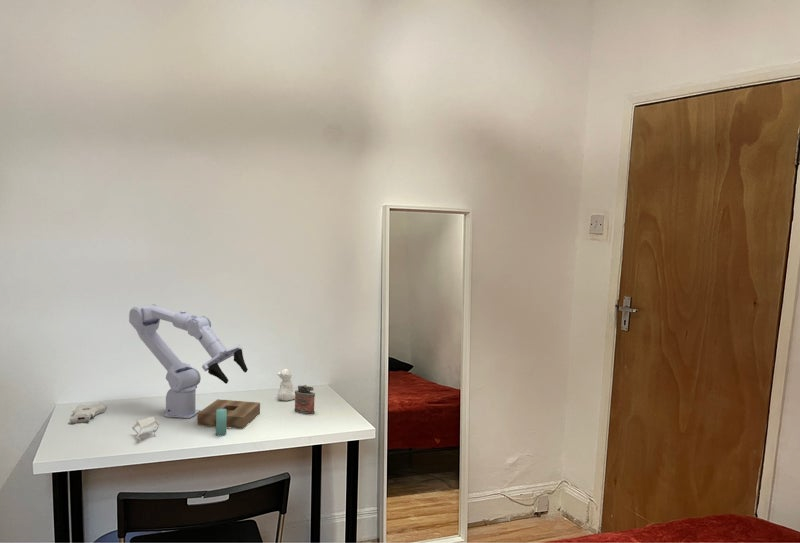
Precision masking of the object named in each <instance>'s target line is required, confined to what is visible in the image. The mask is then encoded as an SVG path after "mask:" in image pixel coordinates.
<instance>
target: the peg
mask: <svg viewBox="0 0 800 543" xmlns="http://www.w3.org/2000/svg"><path fill="white" fill-rule="evenodd" d="M226 419H227V410H226V409H217V410H216V427H215V435H216V436H217V435H219V436H218V437H223V436H222V435H224V436H226V435H227V428H226ZM225 434H226V435H225Z"/></svg>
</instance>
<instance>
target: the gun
mask: <svg viewBox="0 0 800 543" xmlns="http://www.w3.org/2000/svg"><path fill="white" fill-rule="evenodd" d="M107 408H108V405H107V403H105V402H99V403H98V404H92V405H91V404H90V405H85V404H79V405H77V406H76V408H75V409H74V410H73V411H72V416H71V417H70V418H69V421H71V423H74V424H75V423H77V424H78V423H86V422H87V423H88V422H89V421H90V419H91V418H92V417H93V418H94V417H95V416H97V415H100V414H103V413H105V412H106V410H107Z"/></svg>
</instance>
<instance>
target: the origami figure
mask: <svg viewBox="0 0 800 543" xmlns="http://www.w3.org/2000/svg"><path fill="white" fill-rule="evenodd" d="M154 424H155V427H154V428H153V429H152V430H153V431H154V432H153V435H154V437H155V435H156V434H155V433H156V432H157V430H158V429H159V428H160V427H159V426H160V424H159V422H158V420H156V418H155V416H150V417H148V418H143V419H140V420H136V423H135V424H133V426H132V427H131V429H132V430H133V431H134V432H135V434H134V437H135V438H136V439H138V441H137V443H138V442H139V443H140V442H141V441H142V438H141V437H139V436H140V434H141V432H142V431H143V430H144V429H146V428H149V427H151V426H152V425H154ZM137 426H139V431H137V430H136V429H135V428H136V427H137Z"/></svg>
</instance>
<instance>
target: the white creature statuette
mask: <svg viewBox="0 0 800 543" xmlns="http://www.w3.org/2000/svg"><path fill="white" fill-rule="evenodd" d="M276 375H277V376H279V378H280V379H281V380H282V381H281V382H280V384H279V388H278V392H277V394H276V396H277V399H278V400H280V401H281V400H283V401H282V402H288V400H290V401H294V400H295V391H293V387H294V384H293V382H292V380H291V379H292V376H293V375H292V373H291V371H290V370H289V369H288V368H284V369H282V370H280V371H277V374H276ZM293 399H294V400H293Z"/></svg>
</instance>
